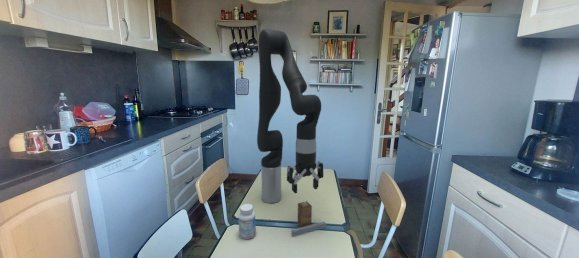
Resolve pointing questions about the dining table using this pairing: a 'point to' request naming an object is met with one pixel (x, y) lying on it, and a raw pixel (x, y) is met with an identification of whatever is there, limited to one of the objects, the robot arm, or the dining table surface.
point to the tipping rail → (308, 228)
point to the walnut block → (304, 214)
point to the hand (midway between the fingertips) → (305, 190)
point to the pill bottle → (247, 222)
